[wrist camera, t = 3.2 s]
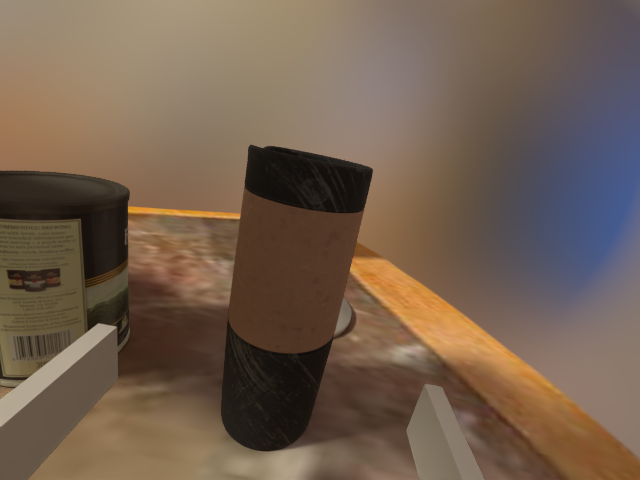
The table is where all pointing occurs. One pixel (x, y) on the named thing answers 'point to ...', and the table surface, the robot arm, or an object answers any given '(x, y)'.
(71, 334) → the coffee can
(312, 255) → the travel mug
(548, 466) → the table surface
